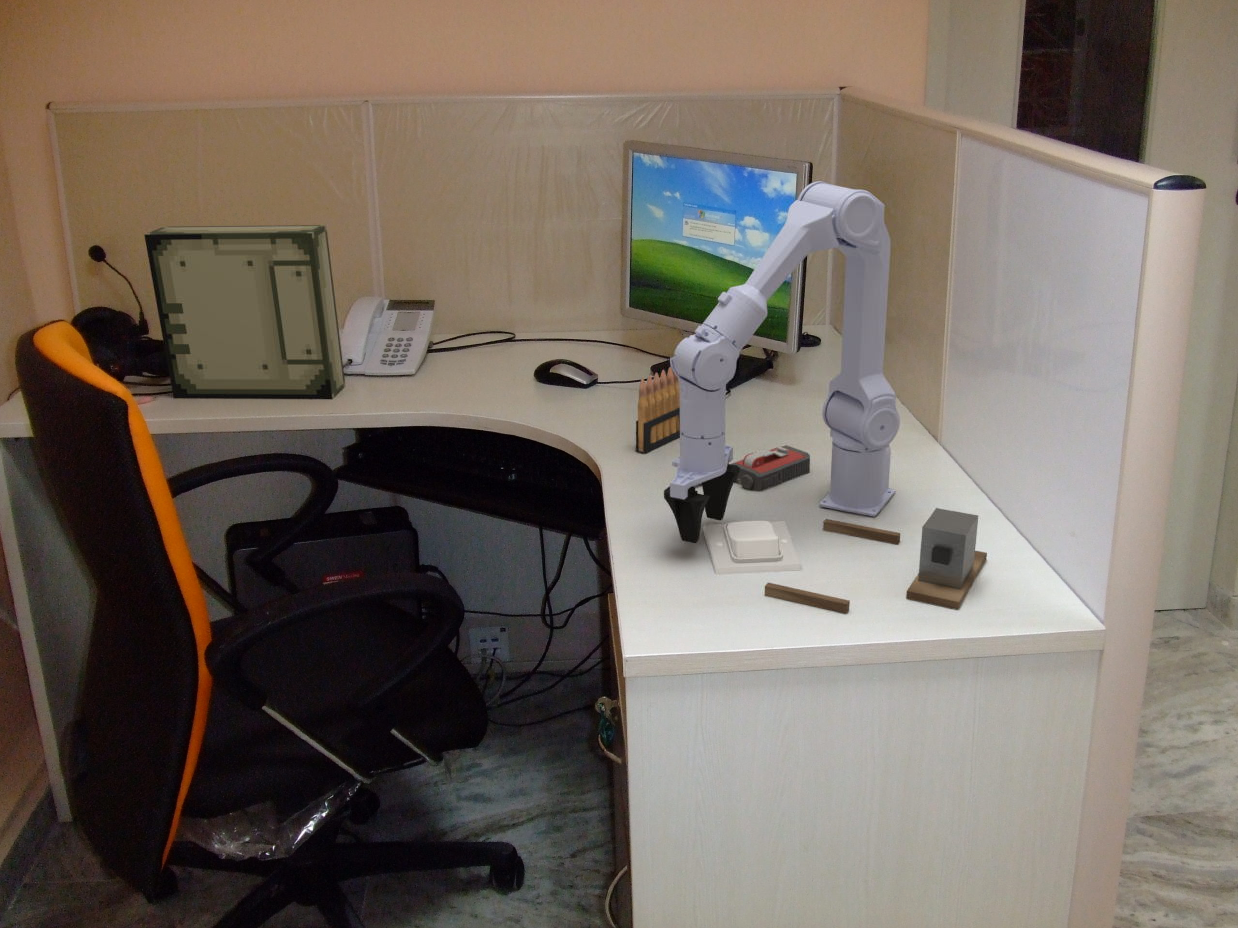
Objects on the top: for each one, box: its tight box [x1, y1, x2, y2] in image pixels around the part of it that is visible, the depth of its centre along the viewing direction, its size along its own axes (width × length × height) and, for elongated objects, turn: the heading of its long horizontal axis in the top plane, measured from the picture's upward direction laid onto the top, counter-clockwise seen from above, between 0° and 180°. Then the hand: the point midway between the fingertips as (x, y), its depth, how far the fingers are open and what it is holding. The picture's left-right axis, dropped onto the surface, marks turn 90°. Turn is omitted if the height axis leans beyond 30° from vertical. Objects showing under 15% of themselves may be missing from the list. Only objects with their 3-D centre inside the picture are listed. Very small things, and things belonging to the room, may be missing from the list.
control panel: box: [144, 224, 346, 400], centre depth 208 cm, size 30×8×30 cm, turn 84°
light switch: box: [702, 519, 804, 575], centre depth 147 cm, size 11×4×13 cm
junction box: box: [918, 507, 979, 590], centre depth 136 cm, size 7×5×7 cm
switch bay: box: [764, 518, 901, 614], centre depth 142 cm, size 21×10×1 cm, turn 151°
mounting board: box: [905, 550, 988, 611], centre depth 138 cm, size 14×6×1 cm, turn 151°
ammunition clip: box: [635, 366, 680, 455], centre depth 181 cm, size 11×2×12 cm, turn 140°
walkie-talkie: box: [729, 444, 811, 492], centre depth 168 cm, size 9×4×20 cm
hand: (702, 529), depth 150 cm, fingers open, 7 cm apart
